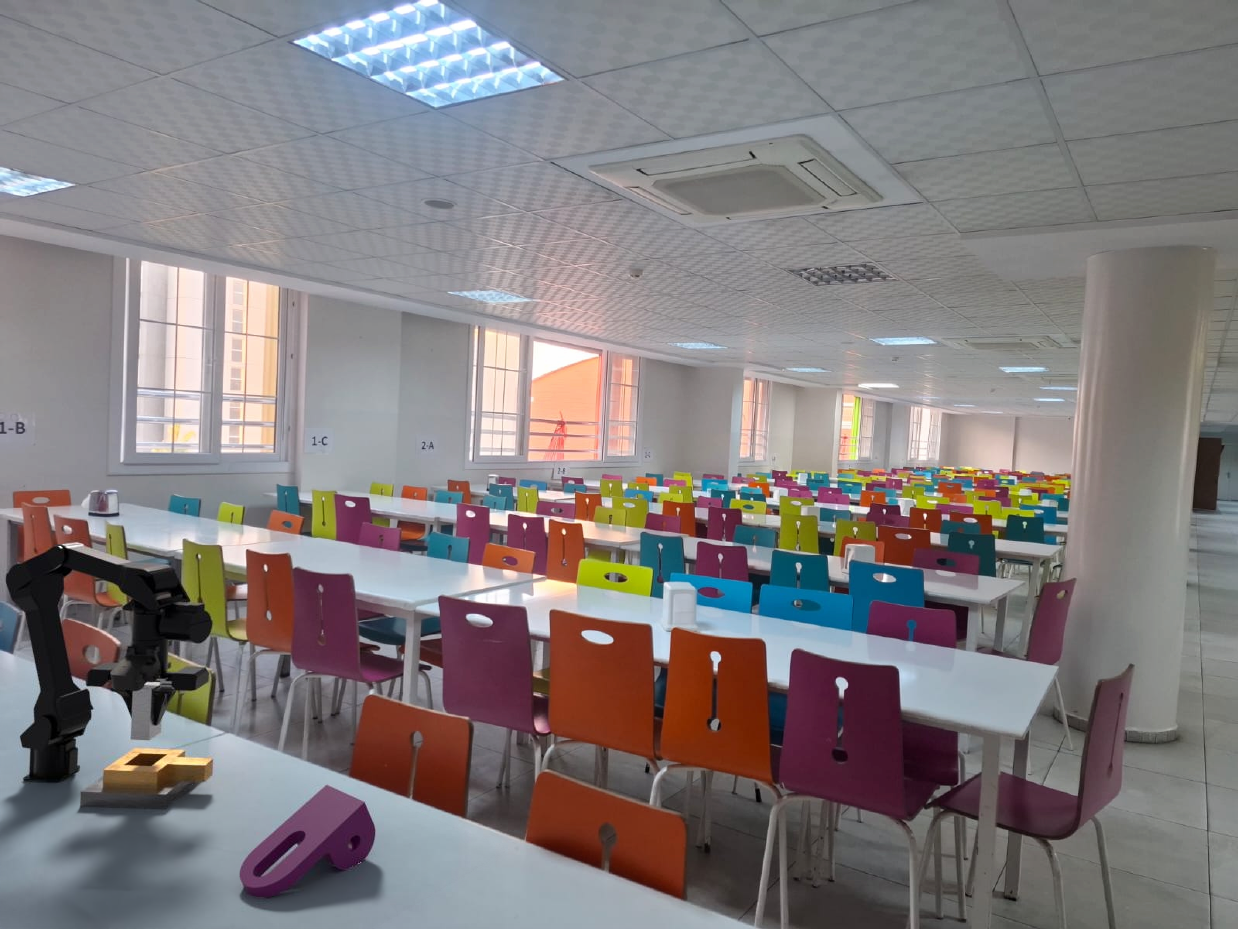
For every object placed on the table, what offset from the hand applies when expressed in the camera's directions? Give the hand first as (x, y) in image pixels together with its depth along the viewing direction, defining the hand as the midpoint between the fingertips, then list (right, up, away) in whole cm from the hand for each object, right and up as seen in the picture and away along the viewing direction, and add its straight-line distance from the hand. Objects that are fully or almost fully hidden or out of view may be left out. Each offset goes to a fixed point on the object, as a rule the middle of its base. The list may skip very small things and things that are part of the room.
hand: (146, 724), depth 146 cm
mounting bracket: (+37, -15, -23) cm, 46 cm away
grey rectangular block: (0, -2, 0) cm, 2 cm away
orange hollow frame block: (+1, -12, +1) cm, 12 cm away
